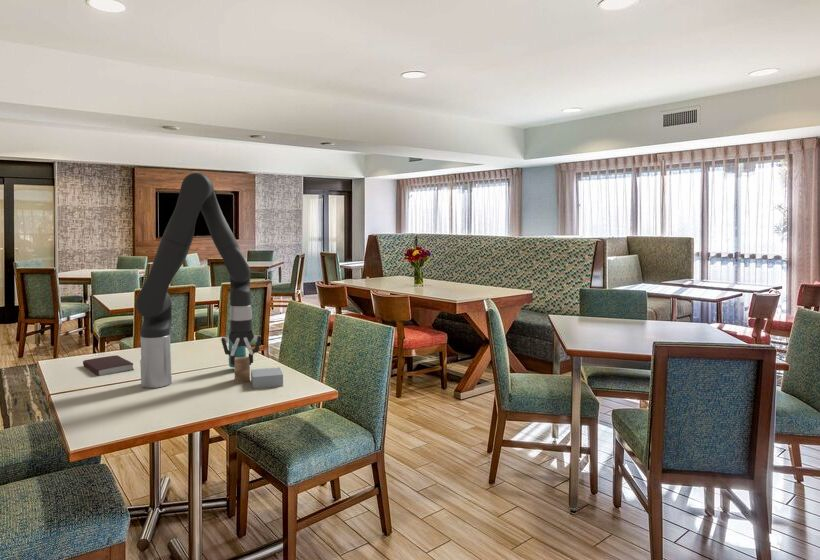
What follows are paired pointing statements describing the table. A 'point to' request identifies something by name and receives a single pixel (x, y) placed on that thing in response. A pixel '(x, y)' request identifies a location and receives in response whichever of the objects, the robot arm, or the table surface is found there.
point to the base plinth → (266, 377)
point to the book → (108, 365)
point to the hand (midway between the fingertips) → (242, 364)
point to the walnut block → (242, 369)
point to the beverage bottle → (238, 352)
